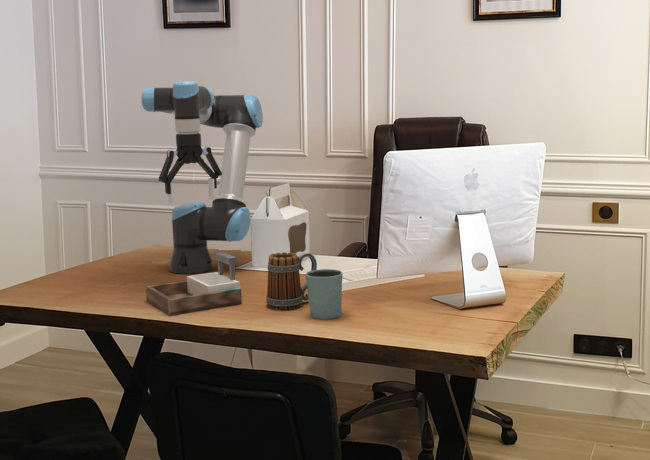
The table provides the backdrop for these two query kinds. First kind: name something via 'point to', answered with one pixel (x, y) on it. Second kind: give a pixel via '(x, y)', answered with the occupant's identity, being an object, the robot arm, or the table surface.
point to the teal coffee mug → (324, 293)
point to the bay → (189, 298)
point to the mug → (286, 281)
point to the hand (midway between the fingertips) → (192, 201)
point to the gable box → (279, 226)
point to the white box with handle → (214, 278)
